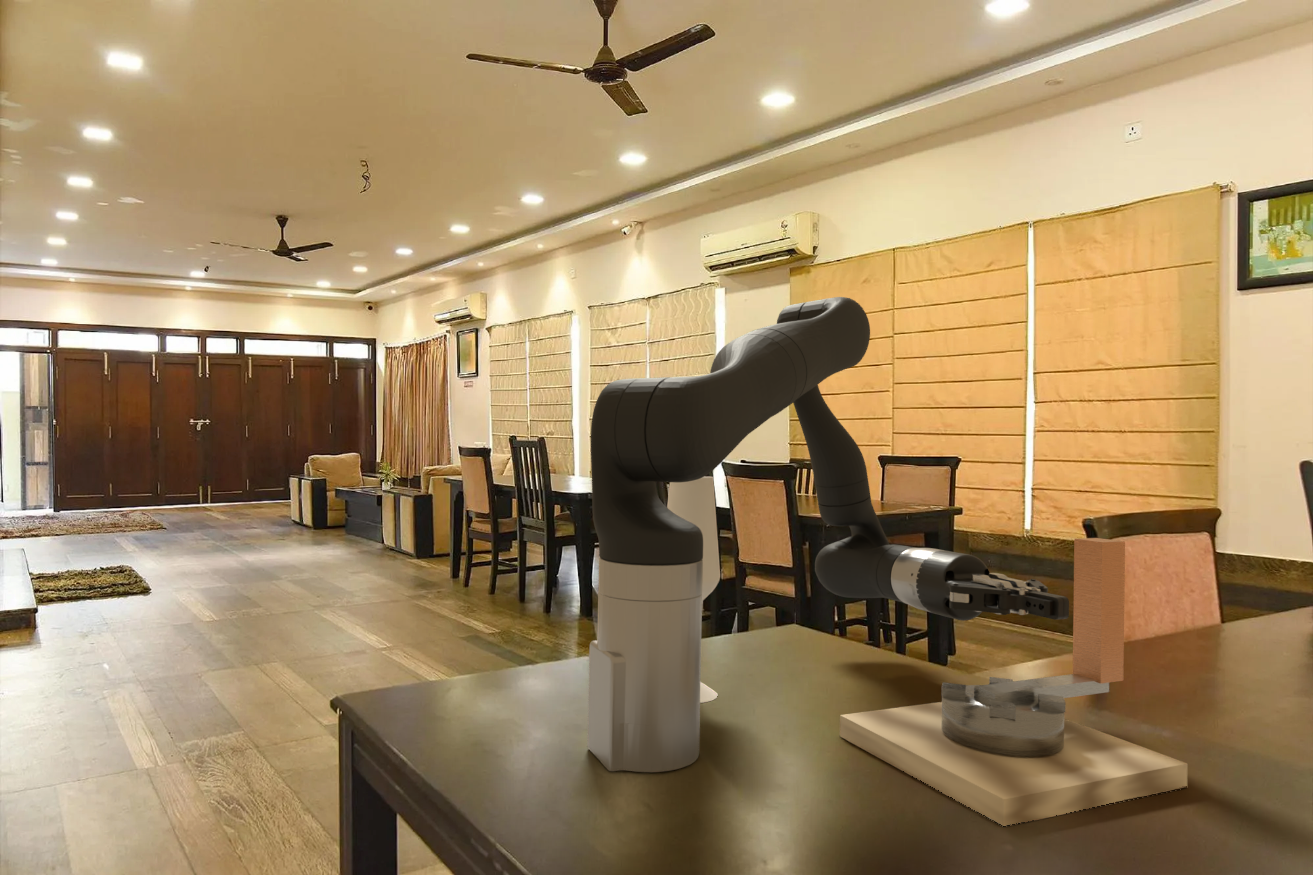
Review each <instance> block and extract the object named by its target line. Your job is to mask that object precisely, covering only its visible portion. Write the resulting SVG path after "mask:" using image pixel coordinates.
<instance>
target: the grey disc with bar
mask: <svg viewBox="0 0 1313 875" xmlns="http://www.w3.org/2000/svg"><path fill="white" fill-rule="evenodd" d="M1073 542H1074V545H1073V546H1074V547H1073V548H1074V549H1073V550H1074V552H1073V554H1074V556H1073V621H1072V622H1073V626H1072V632H1073V633H1072V635H1073V636H1072V674H1063V675H1062V674H1061V675H1055V676H1054V675H1053V676H1047V677H1046V676H1044V677H1039V678H1031V679H1022V680H1014V681H1013V679H1011V678H1004V677H994V676H989V680H988V681H989V682H988V684H970V685H969V684H967V685H966V684H961V683H953V682H944V681H943V682H942V685H941V691H940V692H941V694H940V695H941V702H942V731H943V733H944V734H945V735H947V736H948V737H949V738H951V739H952V740H954V741H956V742H959V743H961V744H963V745H966V746H969V747H972V748H975V749H979V750H983V751H987V752H992V753H998V754H1004V755H1013V756H1044V755H1050V754H1054V753H1057V752H1059V751H1061V750H1062V749H1063V747H1064V718H1065V713H1066V701H1065V699H1067V698H1074V697H1075V698H1076V697H1081V696H1082V697H1083V696H1089V695H1096V694H1097V695H1098V694H1104V693H1109V692H1110V683H1115V682H1122V681H1124V671H1125V670H1124V664H1125V662H1124V659H1125V657H1124V656H1125V651H1124V650H1125V645H1124V644H1125V583H1126V582H1125V581H1126V580H1125V579H1126V577H1125V576H1126V575H1125V574H1126V571H1125V570H1126V569H1125V568H1126V565H1125V564H1126V541H1124V540H1116V539H1107V538H1100V537H1087V538H1085V537H1084V538H1074V541H1073Z"/></svg>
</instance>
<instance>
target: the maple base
mask: <svg viewBox="0 0 1313 875" xmlns="http://www.w3.org/2000/svg"><path fill="white" fill-rule="evenodd" d="M839 737H840V738H842V739H844V740H845V741H848V742H849V743H851V744H853V745H855V746H856V747H858V748H861V749H862V750H864V751H866V752H868V753H869V754H871V755H873V756H875V757H876V758H878V759H880V760H882V761H884V762H886V763H887V764H889V765H891V766H893V767H895V768H896V769H898V770H900V771H902V772H903V771H904V772H903V773H906V775H909V776H911V777H912V776H913V778H915V779H916V778H917V779H916V780H918V781H920V780H921V781H922V783H923V782H924V784H925V783H926V784H925V785H927V784H929V785H928V787H930V786H931V788H932V787H933V788H932V789H934V788H935V790H936V791H938V790H939V791H938V792H939V793H941V792H942V793H941V794H943V795H945V796H947V797H948V796H949V798H950V797H952V798H953V799H952V798H951V799H952V800H954V799H955V800H954V801H955V802H958V801H959V802H960V803H959V802H958V803H959V804H961V803H962V804H961V805H963V804H964V805H963V806H965V805H966V806H965V807H967V808H968V807H970V808H971V809H970V808H969V809H970V810H972V809H973V810H972V811H974V810H975V811H974V812H976V811H978V812H979V813H981V814H982V815H981V814H980V815H981V816H983V815H985V816H987V817H990V818H991V819H993V820H995V821H996V822H998V823H1000V824H1001V825H1003V826H1006V825H1009V824H1011V825H1010V826H1013V825H1012V824H1015V825H1018V823H1019V822H1020V824H1022V823H1021V822H1025V823H1028V821H1029V822H1033V821H1032V820H1034V821H1038V820H1043V819H1048V818H1052V817H1057V816H1061V815H1067V814H1071V813H1070V812H1072V813H1075V812H1074V811H1076V812H1080V811H1079V810H1081V811H1084V810H1083V809H1086V810H1090V809H1093V808H1092V807H1095V808H1098V807H1097V806H1100V807H1102V806H1101V805H1105V806H1107V805H1106V804H1109V803H1113V802H1114V804H1116V803H1115V802H1116V801H1122V800H1124V799H1129V798H1133V797H1137V796H1145V795H1147V794H1148V795H1149V794H1153V793H1156V792H1163V791H1166V790H1172V789H1175V788H1179V787H1182V786H1187V787H1188V767H1189V766H1188V764H1189V763H1187V762H1184V761H1182V760H1179V759H1176V758H1173V757H1171V756H1169V755H1166V754H1164V753H1163V754H1162V753H1160V752H1158V751H1155V750H1153V749H1149V748H1146V747H1144V746H1141V745H1139V744H1135V743H1132V742H1130V741H1127V740H1124V739H1122V738H1119V737H1116V736H1113V735H1111V734H1109V733H1105V732H1103V731H1100V730H1098V729H1095V728H1093V727H1089V726H1086V725H1084V724H1082V723H1081V724H1080V723H1078V722H1076V721H1073V720H1069V719H1067V718H1065V717H1064V747H1063V749H1062V750H1061V751H1059V752H1057V753H1054V754H1050V755H1044V756H1013V755H1004V754H998V753H992V752H987V751H983V750H979V749H975V748H972V747H969V746H966V745H963V744H961V743H959V742H956V741H954V740H952V739H951V738H949V737H948V736H947V735H945V734H944V733H943V731H942V701H939V702H931V703H923V704H922V703H921V704H915V705H914V704H913V705H909V706H899V707H891V708H884V709H877V710H869V711H861V712H854V713H846V714H840V715H839ZM921 781H920V782H921ZM1109 805H1110V804H1109ZM1089 808H1090V809H1089ZM979 813H978V814H979ZM1066 813H1067V814H1066ZM1056 815H1057V816H1056ZM985 816H984V817H985ZM1016 823H1017V824H1016ZM1001 825H1000V826H1001ZM1003 826H1002V827H1003ZM1006 827H1007V826H1006Z"/></svg>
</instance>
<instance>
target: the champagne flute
mask: <svg viewBox="0 0 1313 875" xmlns="http://www.w3.org/2000/svg"><path fill="white" fill-rule="evenodd" d="M666 507H667V508H668V509H669V510H670V511H672V512H673V513H675V514H676V515H678V516H679V517H681V518H683V519H685V520H687V521H689V522H691V523H693V524H695V525H696V526H697V527H699V529H700V530H701V532H702V535H703V579H702V602H703V601H704V600H706V598H707V597H708V596H709V595H711V594H712V593H713V592H714V590H715V589H716V587H717V586H718V584H719V582H720V579H721V571H720V570H721V567H720V553H719V540H718V539H719V538H718V525H717V514H716V513H717V512H716V498H715V486H714V477H713V476H707V475H706V476H704V477H702V478H700V479H697V480H693V481H688V482H669V488H668V496H667V505H666ZM718 694H719V693H717V691H715V690H713V689H712V688H711V687H709V686H708V685H706V684H705V683H703V682H702V681H700V704H701V703H707V702H711V701H713V700H716V699H717V698H718V697H717V696H719V695H718Z"/></svg>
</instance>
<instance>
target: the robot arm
mask: <svg viewBox="0 0 1313 875" xmlns="http://www.w3.org/2000/svg"><path fill="white" fill-rule="evenodd" d="M776 320H777V321H776V323H775V324H770V325H768V326H764V327H760V328H757V329H754V330H751V331H749V332H746V333H744V334H743V335H741V336H739V337H735V338H734V339H733V340H731V341H730V342H728V343H727V344H725V345H724V346H723V347H722V348H721V349H720V350H719V351H718V352H717V354H716V355H715V357H714V359H713V361H712V364H711V367H710V373H707V374H703V375H696V376H695V375H694V376H672V377H670V376H669V377H667V376H666V377H665V376H663V377H640V378H637V377H636V378H623V379H617V380H614V381H612V382H610V383H608V384H607V385H605V387H604V388H603V389H602V390H601V391H600V393H599V395H598V397H597V399H596V402H595V404H594V408H593V410H592V411H593V412H592V418H591V425H590V466H591V493H592V494H591V497H592V500H591V501H592V502H591V503H592V504H591V505H592V506H591V507H592V521H593V525H594V526H593V527H594V528H595V533H596V536H597V538H598V548H599V550H598V556H599V558H598V590H597V591H598V592H597V593H598V594H597V633H596V634H597V635H596V636H597V637H596V638H597V640H596V639H595V640H591V642H590V643H589V652H588V653H589V656H588V658H589V659H588V661H589V662H588V698H587V699H588V701H587V703H588V704H587V708H588V709H587V743H586V744H587V746H586V747H587V749H588V750H590V752H591V753H592V754H593V756H595V757H596V758H597V759H598V761H599V762H600V763H601V764H602V765H603V766H604V767H605V768H606V769H607V770H608V771H609V772H616V771H629V772H631V771H632V772H637V773H660V772H661V773H662V772H669V771H674V770H675V771H676V770H678V769H681V768H685V767H688V766H690V765H691V764H693V763H694V762H696V761H697V760H698V758H699V754H700V736H701V727H700V726H701V724H700V723H701V703H700V682H701V669H702V668H701V667H702V664H701V663H702V622H703V621H702V620H703V618H702V616H703V614H702V613H703V601H702V579H703V535H702V532H701V530H700V529H699V527H697V526H696V525H695V524H693V523H691V522H689V521H687V520H685V519H683V518H681V517H679V516H678V515H676V514H675V513H673V512H672V511H670V510H669V509H668V508H667V505H665V504H664V503H663V502H662V500H661V499H660V498H659V494H658V490H657V483H656V482H658V483H670V482H688V481H693V480H697V479H700V478H702V477H704V476H706V477H707V475H709V474H710V473H711V472H712V471H714V470H715V469H716V468H717V467H718V466H719V465H720V464H721V463H722V462H723V461H724V460H725V459H726V458H727V457H728V456H729V455H730V454H731V453H732V452H733V451H734V450H735V449H736V447H738V446H739V444H741V442H742V441H743V440H744V439H745V438H747V437H748V435H749V434H751V433H752V432H753V431H755V430H756V429H758V428H759V427H760V426H762V425H763V424H764V423H766V422H767V421H768V420H769V419H771V418H773V417H774V416H776V415H778V414H779V413H781V412H782V411H783V410H785V409H786V408H787V407H789V406H791V405H792V404H793V406H794V410H795V413H796V415H797V418H798V422H799V424H800V427H801V430H802V433H803V437H804V440H805V443H806V447H807V450H808V455H809V458H810V463H811V468H812V474H813V480H814V481H813V482H814V486H815V493H816V500H817V505H818V510H819V514H820V518H821V520H822V521H823V522H824V523H825V524H826V525H829V526H832V527H849V528H850V534H851V536H848V537H846V538H843V539H841V540H838V541H835V542H831V543H830V544H827V545H825V546H824V547H823V548H821V549H820V550H819V551H818V553H817V555H816V557H815V561H814V572H815V574H816V577H817V579H818V581H819V583H820V584H821V585H822V586H823V587H824V588H825V589H826V590H827V591H829V592H830V593H832V594H834V595H836V596H839V597H843V598H851V599H877V598H878V599H879V598H881V599H883V598H884V599H889V600H891V601H895V602H899V603H903V604H906V605H908V606H910V607H912V608H915V609H917V610H921V611H924V612H929V613H931V614H934V615H940V616H943V617H947V618H951V619H953V620H957V621H965V622H966V621H970V620H973V619H975V618H976V617H978V616H980V614H981V613H989V614H990V613H992V614H996V615H1003V616H1006V615H1010V614H1011V613H1012V614H1017V615H1019V616H1025V615H1029V614H1030V615H1034V616H1037V617H1042V618H1047V619H1050V620H1065V619H1068V618H1069V616H1070V600H1069V598H1068V597H1067V596H1064V595H1058V594H1055V593H1049V587H1048V586H1046V585H1045V584H1044V583H1042V582H1041V581H1040V580H1037V579H1036V578H1034V579H1033V578H1030V579H1027V580H1026V581H1025V580H1020V579H1016V578H1013V577H1012V578H1011V577H1008V576H1007V575H1006V574H1003V573H998V572H990V571H989V568H988V566H987V565H986V564H985V563H984V561H982V560H981V559H980V558H979V557H977V556H975V555H973V554H968V553H962V552H955V551H950V550H944V549H938V548H931V547H913V546H907V545H903V544H890V542H889V539H888V537H887V535H886V533H885V532H884V529H883V527H882V525H881V522H880V520H879V518H878V516H877V513H876V511H875V509H874V506H873V504H872V495H871V491H870V484H869V476H868V471H867V465H866V462H865V459H864V455H863V453H862V451H861V449H860V447H859V445H858V444H857V442H856V440H855V439H854V438H853V437H852V435H851V434H850V433H849V432H848V431H847V429H846V428H845V427H844V426H843V425H842V423H841V422H840V420H838V418H837V417H836V416H835V414H834V413H833V412H832V410H831V408H830V407H829V406H828V404H827V403H826V401H825V399H824V397H823V395H822V393H821V390H820V387H819V384H820V383H822V382H823V381H824V380H826V379H827V378H829V377H831V376H832V375H835V374H837V373H840V372H842V371H845V370H847V369H850V368H852V367H856V366H857V365H858V364H859V363H860V362H861V361H862V360H863V359H864V357H865V355H866V353H867V351H868V349H869V348H868V347H869V344H870V340H871V339H870V338H871V327H870V322H869V318H868V316H867V313H866V311H865V309H864V308H863V307H862V306H861V305H860V303H858V302H857V301H856V300H854V299H852V298H851V297H846V296H836V297H828V298H823V299H818V300H812V301H811V300H809V301H805V302H801V303H795V304H794V303H793V304H790V305H787V306H785V307H784V308H782V310H781V311H780V312H779V314H778V317H777V319H776Z"/></svg>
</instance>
